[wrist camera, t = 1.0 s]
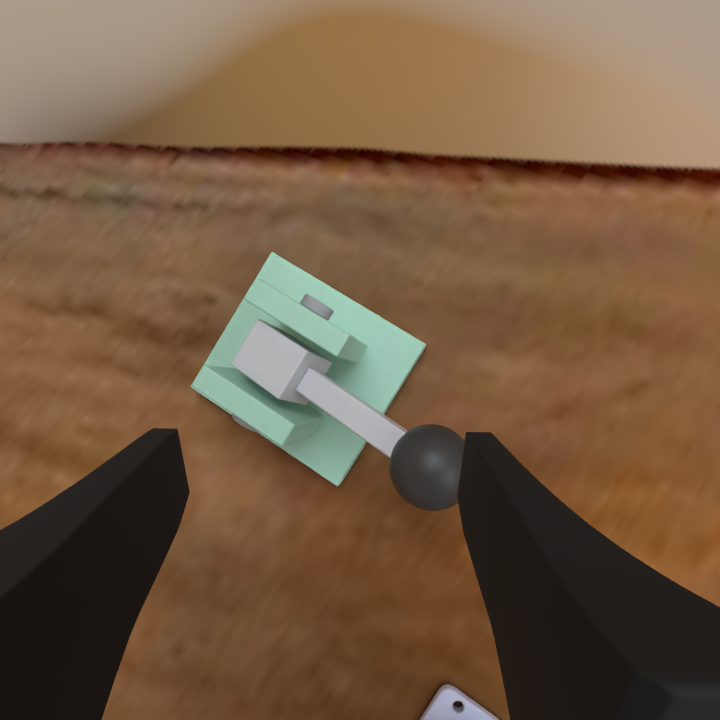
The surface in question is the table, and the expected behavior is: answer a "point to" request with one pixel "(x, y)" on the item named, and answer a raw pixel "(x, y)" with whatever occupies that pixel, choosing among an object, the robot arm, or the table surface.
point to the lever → (356, 416)
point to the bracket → (330, 339)
